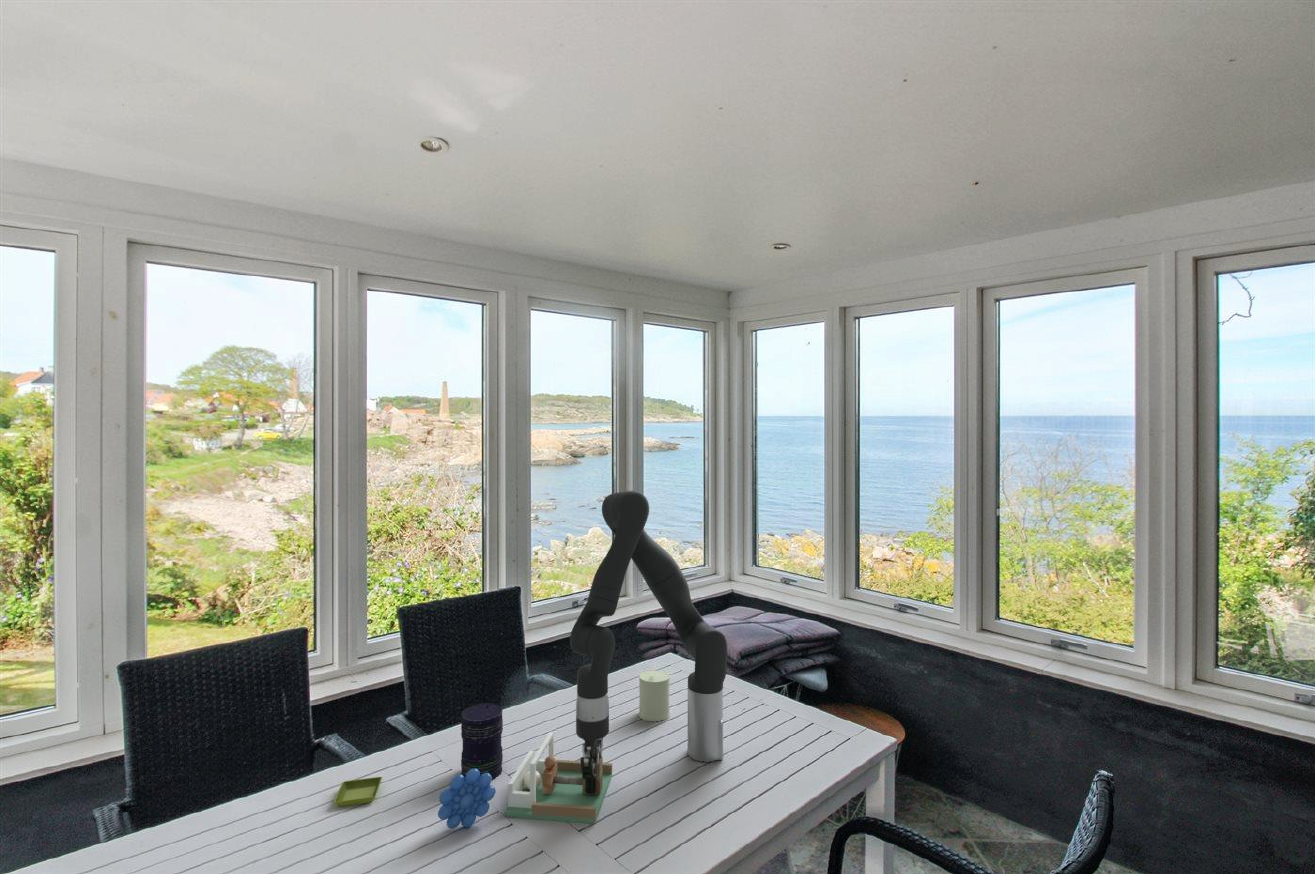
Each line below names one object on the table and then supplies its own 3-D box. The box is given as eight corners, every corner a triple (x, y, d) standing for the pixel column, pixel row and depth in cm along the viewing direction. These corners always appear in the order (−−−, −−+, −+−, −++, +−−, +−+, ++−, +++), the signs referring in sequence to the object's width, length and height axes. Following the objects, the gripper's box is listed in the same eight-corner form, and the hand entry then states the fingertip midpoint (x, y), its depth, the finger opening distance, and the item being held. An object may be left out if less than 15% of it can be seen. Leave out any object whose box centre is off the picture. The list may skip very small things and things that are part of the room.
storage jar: (491, 785, 146) (491, 722, 147) (453, 781, 148) (453, 718, 148) (509, 764, 156) (509, 704, 156) (473, 760, 158) (473, 701, 158)
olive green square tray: (332, 811, 137) (332, 802, 137) (342, 789, 145) (342, 780, 145) (375, 805, 139) (375, 796, 139) (382, 784, 148) (382, 775, 148)
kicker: (603, 785, 144) (603, 754, 144) (598, 797, 139) (598, 765, 139) (547, 781, 146) (547, 750, 146) (541, 793, 141) (541, 761, 141)
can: (634, 719, 181) (634, 678, 182) (644, 706, 190) (644, 667, 190) (664, 723, 179) (664, 681, 179) (673, 710, 188) (673, 670, 188)
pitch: (612, 775, 151) (612, 731, 151) (595, 823, 132) (595, 772, 132) (532, 770, 153) (532, 726, 153) (504, 816, 135) (504, 766, 135)
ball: (523, 773, 146) (533, 787, 146) (517, 782, 142) (528, 796, 142) (536, 763, 146) (546, 777, 145) (531, 772, 142) (541, 786, 141)
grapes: (494, 810, 137) (494, 755, 137) (496, 828, 130) (496, 771, 130) (438, 819, 133) (438, 763, 133) (437, 839, 127) (437, 780, 127)
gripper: (602, 727, 135) (602, 807, 135) (614, 700, 149) (614, 772, 148) (568, 725, 135) (568, 805, 135) (583, 698, 149) (583, 770, 149)
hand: (592, 787), depth 142 cm, fingers closed on kicker, 3 cm apart
